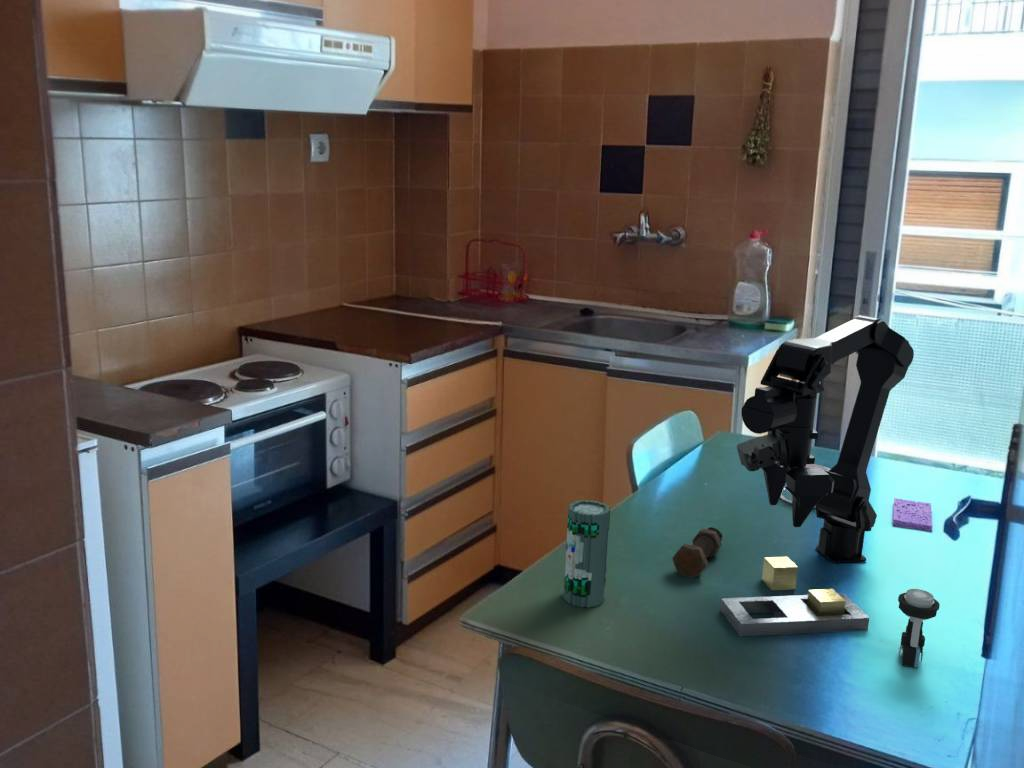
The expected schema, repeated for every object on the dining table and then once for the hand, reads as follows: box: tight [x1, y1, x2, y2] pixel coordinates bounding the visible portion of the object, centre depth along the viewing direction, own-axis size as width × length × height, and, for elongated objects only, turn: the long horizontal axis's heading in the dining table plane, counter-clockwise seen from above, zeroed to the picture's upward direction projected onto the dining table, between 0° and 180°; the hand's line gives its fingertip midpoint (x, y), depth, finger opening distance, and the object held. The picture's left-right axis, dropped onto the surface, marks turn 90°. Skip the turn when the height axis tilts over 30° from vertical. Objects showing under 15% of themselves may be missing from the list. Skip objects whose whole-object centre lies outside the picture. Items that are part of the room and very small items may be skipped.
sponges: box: [891, 497, 933, 532], centre depth 192 cm, size 7×13×2 cm, turn 159°
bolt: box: [672, 527, 723, 579], centre depth 169 cm, size 6×5×15 cm
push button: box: [897, 588, 941, 669], centre depth 138 cm, size 7×5×10 cm
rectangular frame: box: [719, 593, 870, 637], centre depth 149 cm, size 20×8×2 cm, turn 99°
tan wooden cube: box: [807, 588, 846, 616], centre depth 149 cm, size 4×4×4 cm
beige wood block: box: [761, 556, 799, 591], centre depth 160 cm, size 4×4×4 cm
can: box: [563, 499, 611, 609], centre depth 152 cm, size 6×6×15 cm
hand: (784, 515), depth 158 cm, fingers open, 9 cm apart
